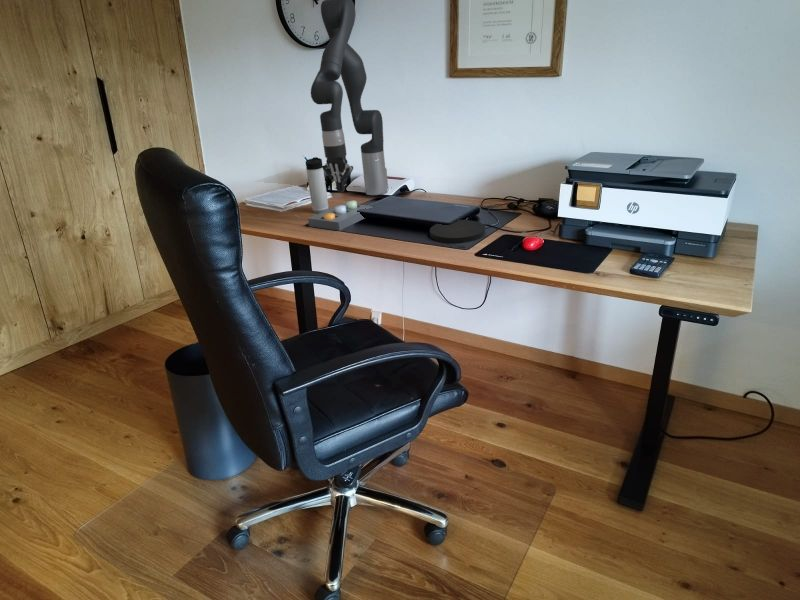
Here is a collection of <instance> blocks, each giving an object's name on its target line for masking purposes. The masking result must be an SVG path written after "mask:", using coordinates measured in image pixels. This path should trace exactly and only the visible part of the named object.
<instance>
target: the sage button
mask: <svg viewBox="0 0 800 600" xmlns="http://www.w3.org/2000/svg"><path fill="white" fill-rule="evenodd" d="M345 203H346V209H351V210H353V209H356V208H357V205H358V203H357V200H354V199H353V200H347V201H345Z"/></svg>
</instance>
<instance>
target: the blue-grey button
mask: <svg viewBox="0 0 800 600" xmlns="http://www.w3.org/2000/svg"><path fill="white" fill-rule="evenodd" d="M338 205H339V206H337V205H335V206H336V207H335V206H334V207H335V214H339V215H343V214H345V213H346V206H345V205H340V204H338Z"/></svg>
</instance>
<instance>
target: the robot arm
mask: <svg viewBox="0 0 800 600" xmlns="http://www.w3.org/2000/svg"><path fill="white" fill-rule="evenodd" d="M355 7H356V5H355V4H354V1H353V0H322V1H321V4H320V14H321V19H322V22H323V25H324V28H325V31H326V33H327V36H328V38H329V42H328V43H327V44H326V46H325V48H324V50H323V52H322V56H321V61H320V66H319V70H318V72H317V73H316V74H317V75H316V76H315V78H314V79H313V82H312V84H311V88H310V97H311V100H312V102H313V103H315V104H316V105H331V107H330V109H329V110H326V111H323V112H321V113H320V115H319V119H320V127H321V132H322V133H321V137H322V144H323V150H324V157H325V159H326V163H325V164H323V166H322V168H323V171H324V173H325V174H326V175H327V176H328V178H329V179H330V180H331V181H334V182H335V187H336V191H337V192H338V193H343V192H345V190H346V186H345V181H347V180H348V179H349V178H350V176H351V174H352V172H353V170H354V165H350V164H349V163H348V159H347V158H346V157H347V147H346V141H345V133H344V131H343V124H342V115H341V114H342V103H343V96H344V92H343V91H344V89H345V92H346V96H347V99H348V103H349V108H350V114H351V118H352V123H353V127H354V129H355V132H356V133H357V134H359V135H371V139H370V140H369V141H366V142H365V143H362V144H361V145H360V152H361V162H362V172H363V180H364V191H365V194H366V195H367V196H368V195H369V196H378V195H380V196H381V195H384V194H387V193H388V191H387V189H388V190H389V183H388V173H387V171H388V170H387V167H386V161H385V150H384V127H383V126H384V125H383V123H384V121H383V117H382V113H381V112H380V110H378V109H367V110H366V109H363V108H362V103H361V101H362V100H361V99H362V96H363V94H364V93H363V92H364V90H365V87H366V83H367V79H368V77H367V72H366V69H365V65H364V61H363V59H362V58H361V56H360V55H359V53H357V51H356V50H355V49H354V48H353V47H352V46H351V45H350V44H349V40H350V37H351V35H352V31H353V28H354V25H355V21H356V14H357V13H356V8H355ZM340 77H341V80H342V83H343V86H344V89H343V86H342V85H341V84H340V82H338V80H339V79H340Z"/></svg>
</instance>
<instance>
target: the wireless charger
mask: <svg viewBox="0 0 800 600" xmlns="http://www.w3.org/2000/svg"><path fill="white" fill-rule="evenodd" d="M457 220H458V221H457V222H455V223H453V224H451V225H442V224H438V223H436V224H434V225H432V226H431V227H430V228H429V236H430V238H431V239H432V240H433V241H437V242H439V243H445V244H446V243H447V244H463V243H469V242H474V241H477V240H479V239H481V238H483V237H484V236H485V235H486V226H485V224H483V223H481V222H480V221H479V222H478V221H475V220H471V219H470V220H468V219H457Z"/></svg>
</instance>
